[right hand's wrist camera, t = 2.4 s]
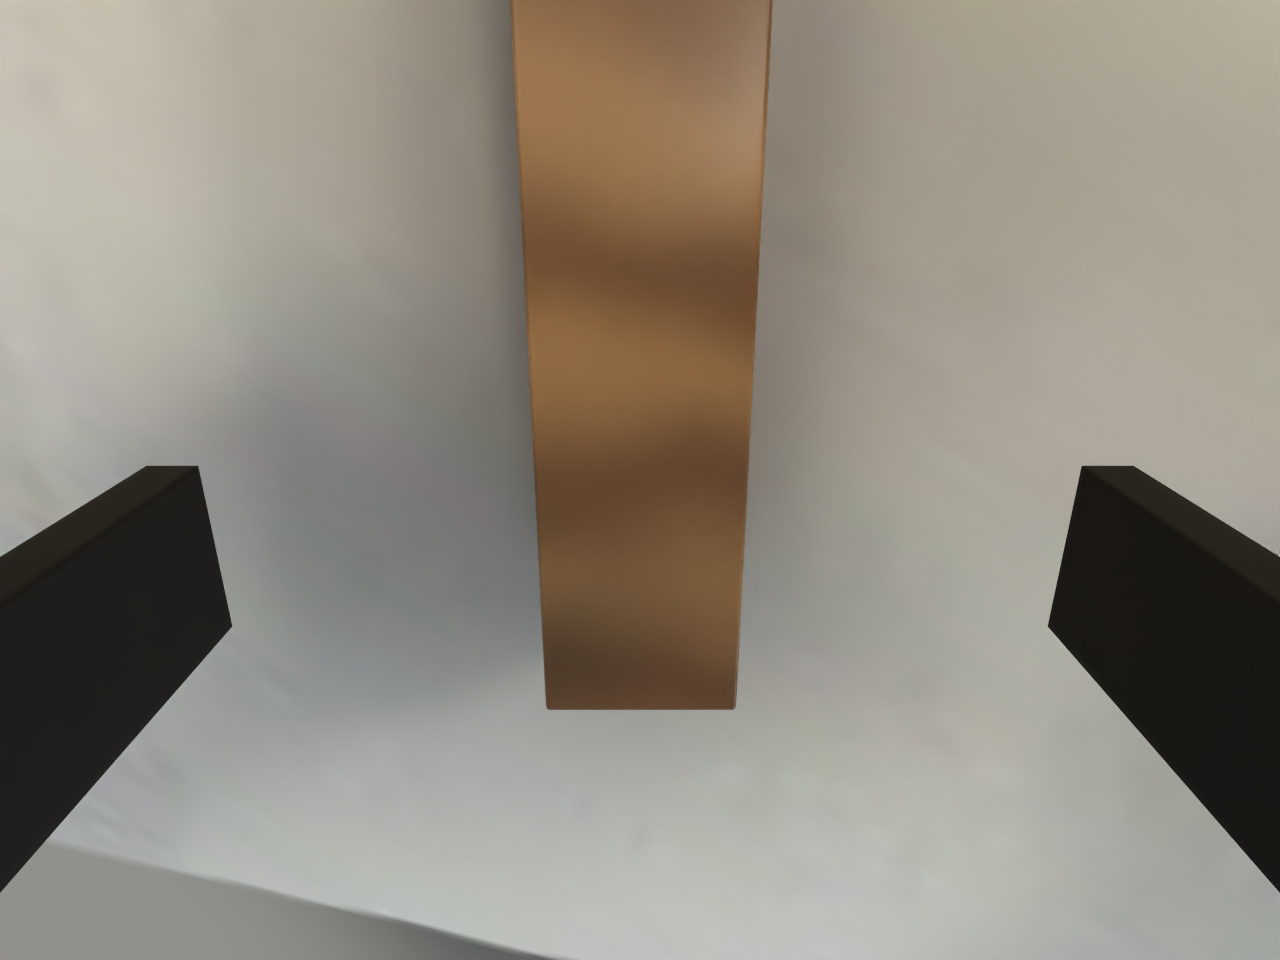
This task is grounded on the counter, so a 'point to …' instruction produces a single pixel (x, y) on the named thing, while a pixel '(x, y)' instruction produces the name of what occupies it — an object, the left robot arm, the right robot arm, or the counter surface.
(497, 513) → the counter surface
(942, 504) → the counter surface
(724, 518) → the beam
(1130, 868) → the counter surface
